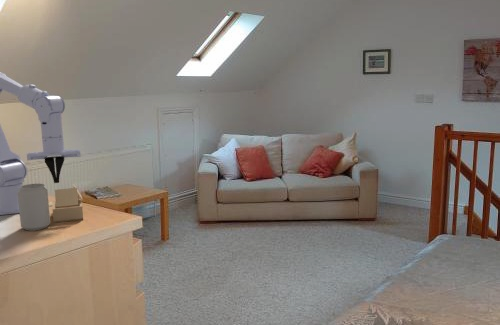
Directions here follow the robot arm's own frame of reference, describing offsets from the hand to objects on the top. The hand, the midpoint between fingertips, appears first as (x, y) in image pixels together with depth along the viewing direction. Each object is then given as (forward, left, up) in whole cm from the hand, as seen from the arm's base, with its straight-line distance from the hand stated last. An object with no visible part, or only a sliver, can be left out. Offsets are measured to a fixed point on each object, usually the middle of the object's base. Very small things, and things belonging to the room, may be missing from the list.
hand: (56, 182), depth 141 cm
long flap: (+6, +3, -4) cm, 7 cm away
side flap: (0, +5, -4) cm, 7 cm away
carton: (-1, 0, -10) cm, 10 cm away
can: (+10, -6, -11) cm, 15 cm away
